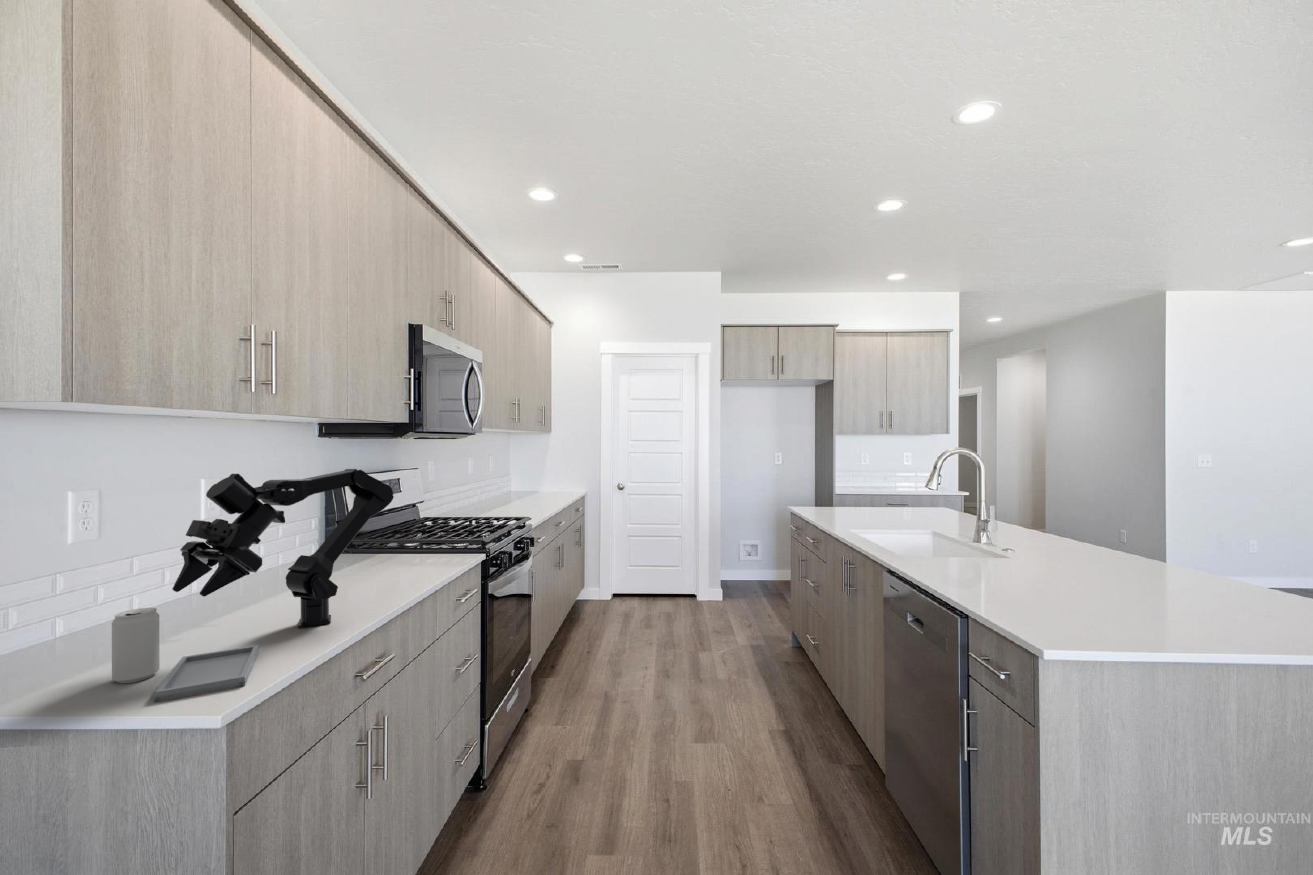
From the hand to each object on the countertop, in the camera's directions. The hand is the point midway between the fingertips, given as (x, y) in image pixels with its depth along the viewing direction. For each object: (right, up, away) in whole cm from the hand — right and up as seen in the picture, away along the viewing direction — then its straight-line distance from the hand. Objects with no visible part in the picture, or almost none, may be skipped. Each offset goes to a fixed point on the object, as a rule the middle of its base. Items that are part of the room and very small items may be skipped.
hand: (187, 593), depth 110 cm
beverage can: (-3, -14, -7) cm, 16 cm away
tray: (+10, -13, -7) cm, 18 cm away
